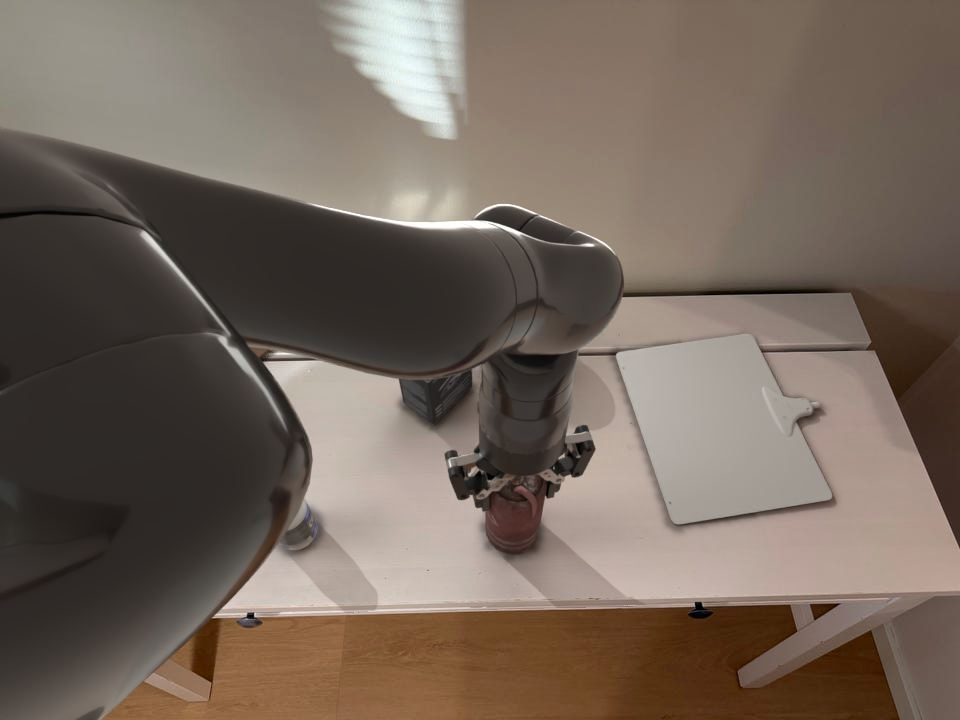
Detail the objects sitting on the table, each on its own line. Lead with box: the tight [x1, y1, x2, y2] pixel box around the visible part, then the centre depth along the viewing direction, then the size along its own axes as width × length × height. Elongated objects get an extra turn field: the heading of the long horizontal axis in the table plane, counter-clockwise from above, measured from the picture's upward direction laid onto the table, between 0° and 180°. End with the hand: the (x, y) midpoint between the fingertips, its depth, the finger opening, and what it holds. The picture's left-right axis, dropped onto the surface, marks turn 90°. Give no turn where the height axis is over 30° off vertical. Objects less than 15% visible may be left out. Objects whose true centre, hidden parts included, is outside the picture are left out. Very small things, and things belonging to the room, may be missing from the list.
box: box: [398, 369, 474, 426], centre depth 83 cm, size 8×6×11 cm
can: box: [484, 474, 548, 555], centre depth 71 cm, size 6×6×14 cm
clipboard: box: [615, 333, 833, 526], centre depth 84 cm, size 25×24×1 cm
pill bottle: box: [278, 497, 318, 551], centre depth 73 cm, size 5×5×8 cm
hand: (516, 496), depth 68 cm, fingers closed on can, 6 cm apart
